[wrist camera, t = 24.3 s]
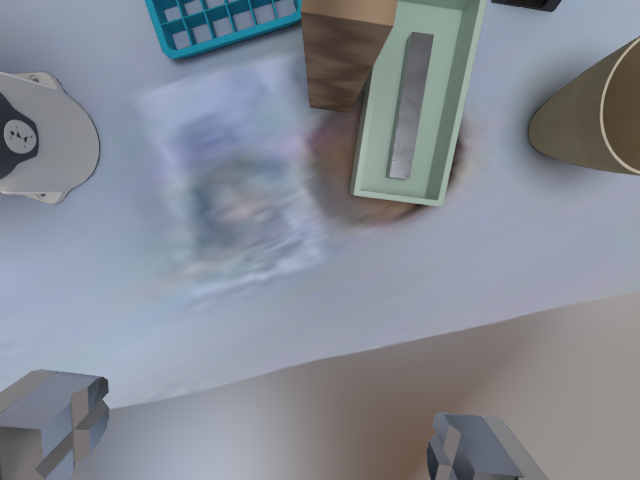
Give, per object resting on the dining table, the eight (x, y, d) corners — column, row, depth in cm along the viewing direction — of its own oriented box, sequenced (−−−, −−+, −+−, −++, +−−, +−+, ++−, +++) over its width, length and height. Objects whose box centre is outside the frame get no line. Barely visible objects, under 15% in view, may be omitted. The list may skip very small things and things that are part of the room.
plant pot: (617, 140, 46) (772, 120, 30) (530, 196, 47) (635, 205, 32) (575, 52, 43) (722, -20, 28) (485, 114, 45) (576, 80, 29)
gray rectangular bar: (385, 176, 46) (389, 176, 43) (406, 40, 42) (411, 31, 39) (404, 179, 46) (409, 179, 43) (427, 42, 42) (434, 34, 40)
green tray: (349, 193, 47) (353, 195, 41) (378, -6, 41) (388, -36, 35) (426, 203, 47) (442, 207, 42) (466, 8, 42) (491, -20, 36)
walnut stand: (309, 107, 44) (300, 11, 19) (320, 16, 42) (325, -234, 16) (349, 112, 44) (393, 25, 19) (362, 23, 42) (432, -214, 17)
